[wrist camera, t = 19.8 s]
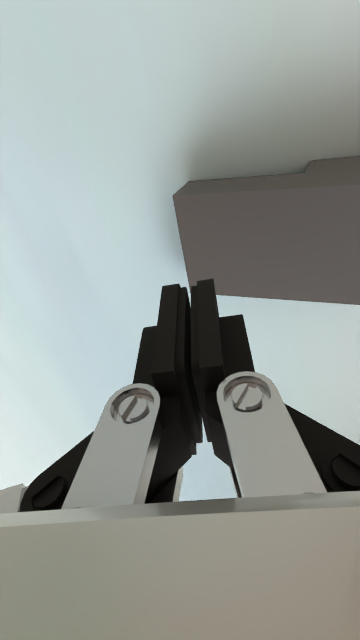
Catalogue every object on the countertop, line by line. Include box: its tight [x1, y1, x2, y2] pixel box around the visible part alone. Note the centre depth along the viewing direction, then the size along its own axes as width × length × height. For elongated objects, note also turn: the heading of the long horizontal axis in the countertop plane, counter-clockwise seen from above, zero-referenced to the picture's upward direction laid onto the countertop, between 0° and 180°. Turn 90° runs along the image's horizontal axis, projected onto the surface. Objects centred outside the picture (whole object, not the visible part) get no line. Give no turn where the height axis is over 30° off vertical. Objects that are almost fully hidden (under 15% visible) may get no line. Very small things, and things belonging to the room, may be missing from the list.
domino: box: [173, 169, 360, 305], centre depth 15 cm, size 5×2×10 cm
